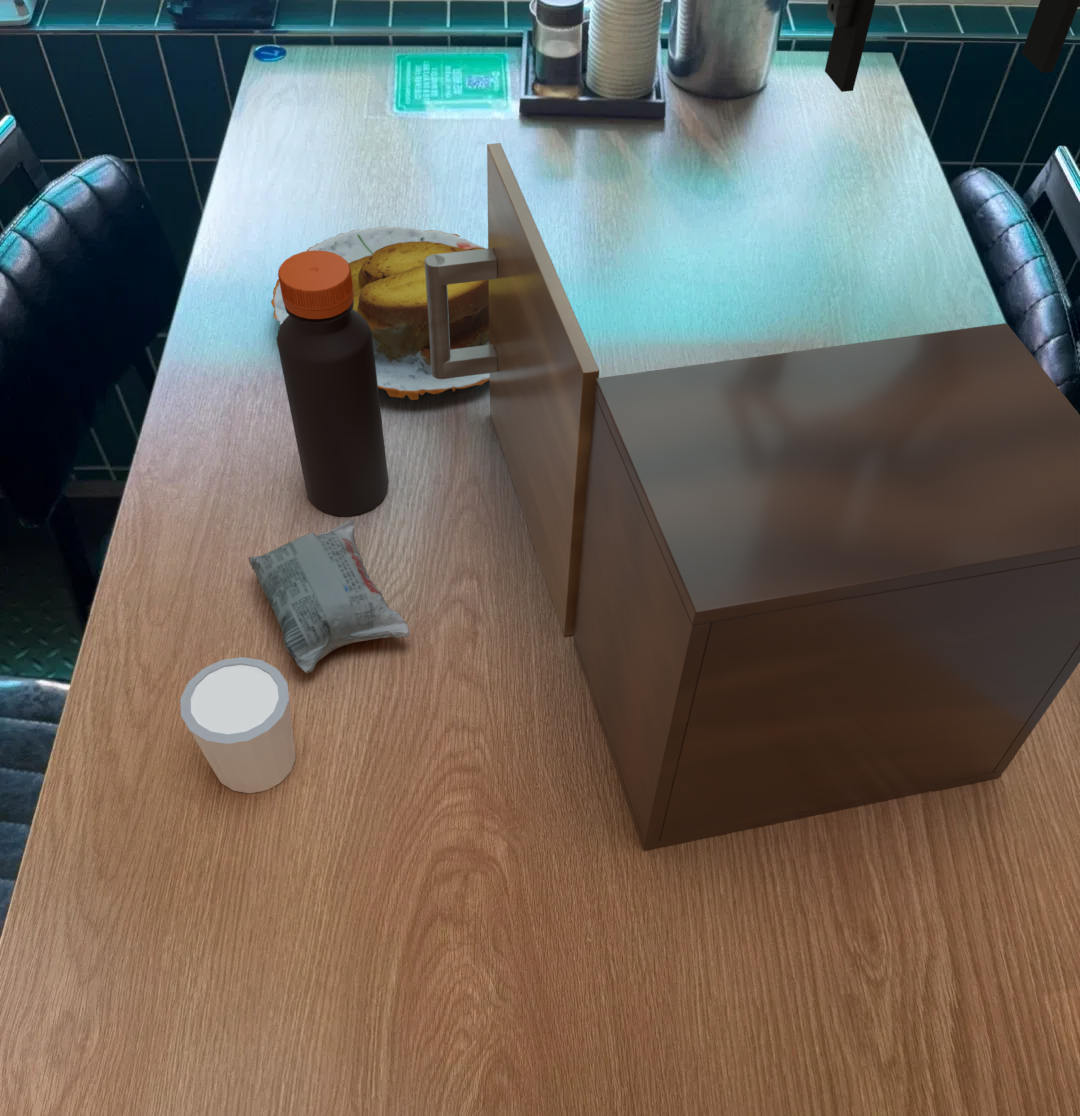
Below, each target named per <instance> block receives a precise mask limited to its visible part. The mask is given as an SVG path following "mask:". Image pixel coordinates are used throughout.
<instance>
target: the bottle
mask: <svg viewBox="0 0 1080 1116" xmlns="http://www.w3.org/2000/svg"><path fill="white" fill-rule="evenodd" d="M277 277H278V279H279V282H280V288H281V293H282V299H283V302H284V306H285V309H286V312H287V313H288V314H289V316H288V317H287V318H286V319H285V320H284V322H283V323H282V324H281V325H280V326H278V330H277V335H276V344H277V350H278V353H279V360H280V365H281V370H282V373H283V374H282V375H283V380H284V385H285V391H286V395H287V401H288V405H289V410H290V417H291V421H292V426H293V432H294V436H295V441H296V447H297V451H298V456H299V457H298V458H299V462H300V467H301V472H302V477H303V482H304V486H305V487H304V488H305V491H306V495H307V498H308V500H309V501H310V502H311V504H312V505H313V506H314V507H315V508H317V509H318V510H320V511H322V512H324V513H326V514H329V515H333V516H336V517H337V516H338V517H352V516H356V515H362V514H364V513H367V512H369V511H371V510H373V509H375V508H376V507H377V506H378V505H380V504H381V503H382V502H383V501H384V499H385V497H386V495H387V494H388V490H389V474H388V473H389V472H388V464H387V456H386V446H385V438H384V437H385V436H384V428H383V421H382V420H383V419H382V411H381V402H380V394H379V388H378V383H377V374H376V365H375V356H374V348H373V339H372V332H371V330H370V327H369V324H368V322H367V321H366V320H365V319H364V318H363V317H362V316H361V315H360V314H359V313H358V312H356V311H355V310H353V305H354V291H353V284H352V276H351V268H350V266H349V264H348V262H347V261H345V259H344V258H342V256H339V255H337V254H335V253H332V252H327V251H315V250H313V251H307V250H305V251H302V252H297V253H295V254H293V255H291V256H289V257H288V258H286V259H285V260H284V261H283V262H282V263H281V265H280V266H279V267H278V270H277Z"/></svg>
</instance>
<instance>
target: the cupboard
mask: <svg viewBox="0 0 1080 1116" xmlns="http://www.w3.org/2000/svg"><path fill="white" fill-rule="evenodd" d="M1012 329H1013V328H1011V327H1010V325H1008V323H1006V322H1003V323H997V324H988V325H982V326H981V325H980V326H975V327H973V326H972V327H968V328H967V327H965V328H960V329H953V330H943V331H936V332H930V333H929V332H928V333H924V334H923V333H921V334H915V335H908V336H900V337H899V336H898V337H894V338H893V337H892V338H886V339H879V340H871V341H863V342H856V343H849V344H842V345H841V344H840V345H834V346H827V347H819V348H811V349H804V350H796V351H789V352H782V353H775V354H767V355H760V356H753V357H746V358H738V359H729V360H722V361H716V362H715V361H714V362H707V363H701V364H693V365H685V366H679V367H671V368H663V369H662V368H661V369H656V370H655V369H654V370H648V371H647V370H646V371H641V372H633V373H626V374H618V375H611V376H603V377H599V378H596V380H595V391H594V392H595V393H594V403H593V415H592V427H591V439H590V451H589V463H588V475H587V487H586V499H585V511H584V523H583V534H582V546H581V558H580V570H579V582H578V594H577V606H576V618H575V630H574V635H573V648H574V651H575V654H576V657H577V660H578V663H579V666H580V669H581V671H582V674H583V677H584V680H585V684H586V686H587V689H588V693H589V695H590V698H591V701H592V704H593V707H594V710H595V713H596V716H597V719H598V722H599V725H600V728H601V731H602V734H603V737H604V740H605V743H606V746H607V748H608V751H609V754H610V758H611V761H612V764H613V766H614V770H615V772H616V775H617V778H618V781H619V784H620V787H621V790H622V793H623V796H624V800H625V801H626V805H627V809H628V811H629V813H630V817H631V820H632V823H633V826H634V828H635V832H636V834H637V837H638V841H639V843H640V846H641V849H642V851H643V852H647V851H652V850H657V849H658V850H659V849H661V848H666V847H672V846H676V845H677V846H678V845H681V844H686V843H690V842H696V841H700V840H705V839H710V838H714V837H719V836H725V835H730V834H733V833H739V832H743V831H748V830H753V829H758V828H763V827H767V826H772V825H777V824H781V823H787V822H792V821H796V820H803V819H805V818H810V817H816V816H821V815H826V814H830V813H836V812H840V811H844V810H850V809H854V808H859V807H864V806H868V805H869V806H870V805H874V804H879V803H883V802H887V801H892V800H897V799H902V798H907V797H911V796H912V797H913V796H916V795H921V794H922V795H923V794H926V793H931V792H936V791H941V790H947V789H950V788H956V787H960V786H965V785H970V784H975V783H979V782H980V783H981V782H984V781H989V780H995V779H997V778H1001V777H1002V775H1003V774H1004V772H1005V771H1006V770H1007V768H1008V767H1009V765H1010V764H1011V762H1012V761H1013V759H1014V758H1015V757H1016V755H1017V754H1018V752H1019V751H1020V749H1021V748H1022V746H1023V745H1024V744H1025V742H1026V741H1027V739H1028V738H1029V737H1030V735H1031V733H1032V732H1033V731H1034V730H1035V728H1036V726H1037V725H1038V724H1039V722H1040V720H1041V719H1042V718H1043V716H1044V715H1045V713H1046V712H1047V711H1048V709H1049V708H1050V707H1051V704H1053V702H1054V700H1055V699H1056V698H1057V696H1058V694H1059V693H1060V692H1061V690H1062V689H1063V687H1064V686H1065V685H1066V683H1067V682H1068V680H1069V679H1070V677H1071V676H1072V674H1073V673H1074V672H1075V670H1076V669H1077V667H1078V666H1079V664H1080V414H1079V412H1078V411H1077V410H1076V409H1075V407H1074V406H1073V404H1072V403H1071V402H1070V400H1068V398H1067V397H1066V396H1065V395H1064V393H1063V392H1062V391H1061V390H1060V388H1059V387H1058V385H1056V384H1055V382H1054V381H1053V380H1052V378H1051V377H1050V376H1049V375H1048V373H1047V372H1046V371H1045V370H1044V368H1043V367H1042V365H1041V364H1040V363H1039V362H1038V361H1037V359H1036V358H1035V357H1034V356H1033V354H1032V353H1031V352H1030V350H1029V349H1028V348H1027V347H1026V346H1025V344H1024V343H1023V342H1022V341H1021V339H1020V338H1019V337H1018V335H1017V334H1016V333H1015V331H1014V330H1012Z"/></svg>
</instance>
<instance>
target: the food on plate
mask: <svg viewBox="0 0 1080 1116" xmlns="http://www.w3.org/2000/svg"><path fill="white" fill-rule="evenodd" d="M478 249H487V248H486V247H484V246H482V245H479V244H476V243H474V242H472V241H469V240H468V239H466V238H461V235H459V234H458V233H449V232H444V231H442V230H433V229H432V230H431V229H429V230H421V229H417V228H414V227H398V226H397V227H396V226H376V227H371V228H363V229H353V230H350V231H347V232H341V233H339V234H337V235H335V236H331V237H329V238H326V239H325V240H323V241H321V242H319V243H316V244H315V245H313V246H309V248H307V250H306V251H313V250H315V251H327V252H332V253H335V254H337V255H339V256H342V258H344V259H345V261H347V262H348V264H349V266H350V268H351V276H352V284H353V291H354V305H353V310H355V311H356V312H358V313H359V314H360V315H361V316H362V317H363V318H364V319H365V320H366V321H367V322H368V324H369V327H370V330H371V332H372V339H373V348H374V356H375V365H376V374H377V383H378V389H381V390H384V391H386V393H387V395H388V396H389V397H391V398H398V399H399V398H400V399H404V398H405V397H406V396H407V397H408V398H409V400H411V401H415V400H419V397H420V396H419V395H421V396H424V394H425V393H428V394H432V395H438V394H441V393H443V392H445V391H447V390H450V389H452V392H453V393H454V392H455V391H456V390H457V389H466V388H469V387H473V386H483V385H484V384H485V383H486V382H488V381H489V382H490V373H486V374H479V375H471V376H464V377H456V378H448V379H436V378H434V377H433V376H432V373H431V357H430V341H429V325H428V309H427V293H426V277H425V258H426V257H428V256H430V255H434V254H443V253H452V252H460V251H469V250H478ZM447 289H448V311H449V333H450V350H451V349H459V348H467V347H475V346H482V345H489V280H482V281H473V282H465V283H456V284H448V285H447ZM272 291H273V292H272V299H271V301H270V303H271V305H272V307H273V309H274V311H273V319H275V320H276V321H278V322H279V324H280V325H281V324H282V323H283V322H284V320H285V319H286V318H287V317H288V316H289V314H288V313H287V312H286V309H285V306H284V302H283V299H282V293H281V288H280V282H279V278H278V279H277V280H276V282H275V286H274V287H273V290H272Z"/></svg>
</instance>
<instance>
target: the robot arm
mask: <svg viewBox="0 0 1080 1116" xmlns="http://www.w3.org/2000/svg"><path fill="white" fill-rule="evenodd" d="M876 1H877V0H827V4H826V16H827V19H828V20H829V21H830V22H831V23H832V24H833V26H834V28H833V32H832V35H831V36H832V37H831V42H830V45H829V49H828V54H827V58H826V64H825V68H824V72H825V73H826V75H827V76H828V77H829V79H830V80H831V81H832V82H833V83H834V85H835V86H836V87H837V88H838V90H839V91H840V92H841V93H843V92H844V93H845V92H853V91H854V89H855V85H856V81H857V77H858V73H859V69H860V65H861V62H862V61H861V60H862V56H863V54H864V53H863V52H864V49H865V44H866V40H867V36H868V32H869V29H870V25H871V21H872V16H873V13H874V9H875V5H876ZM1078 8H1080V0H1039V3H1038V5H1037V9H1036V11H1035V14H1034V17H1033V20H1032V22H1031V25H1030V27H1029V30H1028V34H1027V37H1026V39H1025V41H1024V45H1023V48H1022V51H1021V54H1022V55H1023V57H1025V58H1026V59H1027V60H1028V61H1029V62H1030V63H1031V64H1032V65H1033V66H1034V67H1035V68H1036V69H1037V70H1039V71H1040V73H1042V74H1045V73H1053V72H1054V70H1055V67H1056V65H1057V62H1058V59H1059V57H1060V54H1061V53H1062V49H1063V47H1064V44H1065V42H1066V39H1067V37H1068V34H1069V32H1070V29H1071V26H1072V25H1073V21H1074V18H1075V16H1076V13H1077V10H1078Z"/></svg>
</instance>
